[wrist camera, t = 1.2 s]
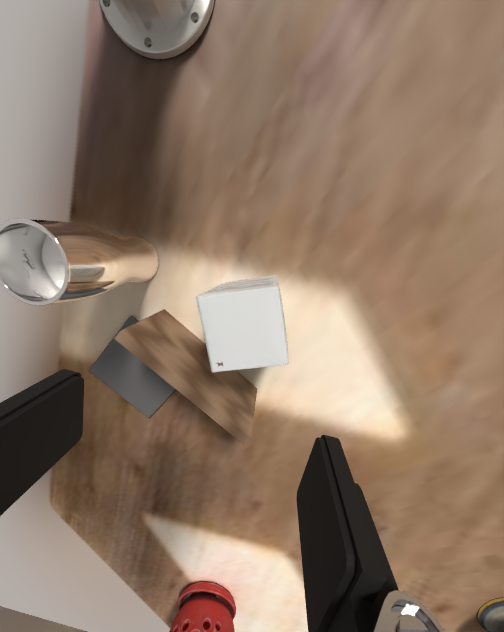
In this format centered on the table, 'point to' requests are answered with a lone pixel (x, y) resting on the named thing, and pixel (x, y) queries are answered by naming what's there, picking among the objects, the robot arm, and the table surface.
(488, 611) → the apothecary jar
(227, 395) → the wood grain panel
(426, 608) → the robot arm
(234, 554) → the table surface
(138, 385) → the mat
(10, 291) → the metal tumbler
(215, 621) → the plant pot
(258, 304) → the supplement box
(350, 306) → the table surface
